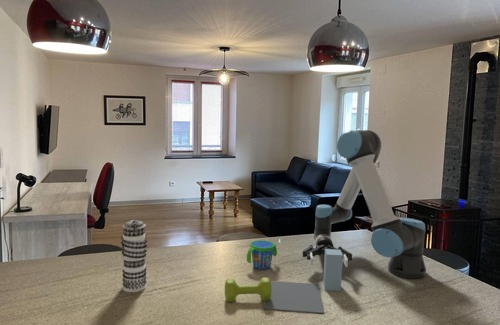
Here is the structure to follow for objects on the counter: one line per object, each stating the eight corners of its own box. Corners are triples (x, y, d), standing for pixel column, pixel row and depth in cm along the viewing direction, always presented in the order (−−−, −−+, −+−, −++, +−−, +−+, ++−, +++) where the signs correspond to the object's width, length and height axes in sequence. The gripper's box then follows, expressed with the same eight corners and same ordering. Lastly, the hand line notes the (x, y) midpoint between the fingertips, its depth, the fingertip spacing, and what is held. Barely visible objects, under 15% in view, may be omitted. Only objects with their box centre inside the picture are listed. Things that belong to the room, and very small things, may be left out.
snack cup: (269, 259, 174) (269, 237, 173) (283, 267, 165) (284, 244, 164) (240, 266, 166) (240, 243, 164) (253, 274, 157) (254, 250, 156)
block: (338, 284, 150) (340, 249, 148) (340, 291, 144) (342, 255, 142) (323, 283, 150) (324, 248, 149) (324, 290, 144) (326, 254, 143)
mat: (318, 285, 149) (318, 284, 149) (324, 313, 127) (324, 312, 127) (267, 281, 150) (267, 280, 150) (264, 309, 129) (264, 308, 129)
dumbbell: (269, 293, 139) (270, 274, 139) (272, 303, 132) (272, 283, 131) (224, 294, 138) (224, 275, 138) (224, 305, 131) (224, 285, 130)
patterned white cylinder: (120, 283, 145) (120, 219, 142) (146, 280, 149) (145, 217, 146) (122, 294, 137) (121, 226, 134) (148, 290, 140) (148, 224, 137)
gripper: (352, 254, 171) (360, 273, 150) (296, 251, 174) (297, 269, 153) (353, 238, 170) (362, 255, 149) (296, 235, 173) (297, 251, 152)
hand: (329, 262), depth 151 cm, fingers open, 13 cm apart
